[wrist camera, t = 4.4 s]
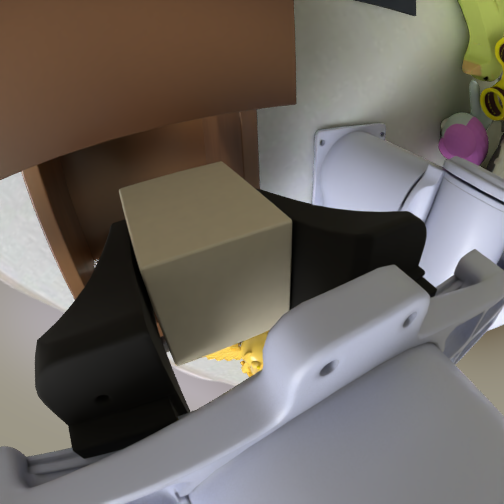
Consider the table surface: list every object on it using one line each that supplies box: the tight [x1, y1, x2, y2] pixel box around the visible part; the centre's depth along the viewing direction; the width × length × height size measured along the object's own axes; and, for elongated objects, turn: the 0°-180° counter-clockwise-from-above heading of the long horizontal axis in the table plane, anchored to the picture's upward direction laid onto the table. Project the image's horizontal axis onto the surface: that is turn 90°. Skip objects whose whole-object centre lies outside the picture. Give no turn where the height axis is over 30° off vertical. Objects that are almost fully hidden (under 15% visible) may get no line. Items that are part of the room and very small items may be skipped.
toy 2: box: [439, 80, 492, 166], centre depth 29 cm, size 13×6×15 cm
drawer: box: [21, 109, 260, 352], centre depth 17 cm, size 19×11×7 cm, turn 3°
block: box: [119, 161, 292, 366], centre depth 11 cm, size 4×4×5 cm
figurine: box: [204, 331, 269, 377], centre depth 30 cm, size 12×12×9 cm
